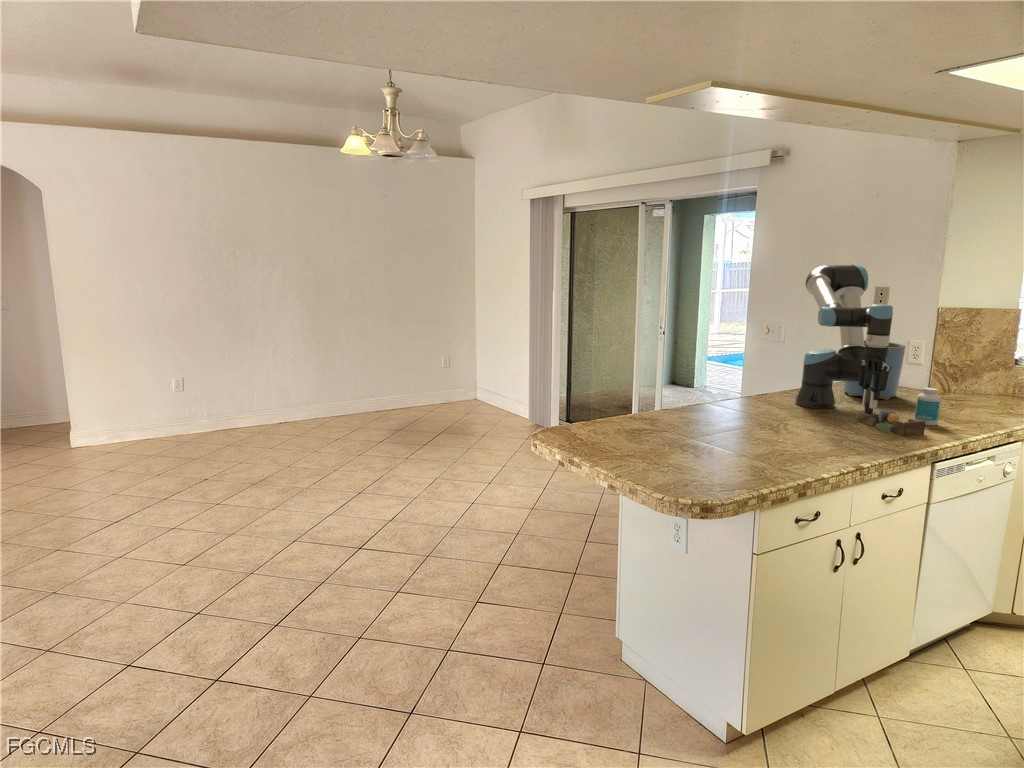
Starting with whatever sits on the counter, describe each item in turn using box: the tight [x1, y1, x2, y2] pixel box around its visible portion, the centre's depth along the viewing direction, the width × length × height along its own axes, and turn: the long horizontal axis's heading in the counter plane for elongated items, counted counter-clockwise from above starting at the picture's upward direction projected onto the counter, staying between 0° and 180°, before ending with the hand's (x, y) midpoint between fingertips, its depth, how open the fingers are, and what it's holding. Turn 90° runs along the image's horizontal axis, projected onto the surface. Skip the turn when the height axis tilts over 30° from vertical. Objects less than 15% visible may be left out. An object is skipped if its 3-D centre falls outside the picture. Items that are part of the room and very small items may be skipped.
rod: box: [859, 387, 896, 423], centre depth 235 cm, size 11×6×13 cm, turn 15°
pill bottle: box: [914, 387, 942, 426], centre depth 234 cm, size 8×7×14 cm
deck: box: [876, 420, 904, 433], centre depth 228 cm, size 6×10×2 cm, turn 105°
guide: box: [855, 413, 889, 426], centre depth 237 cm, size 8×7×2 cm
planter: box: [843, 339, 906, 401], centre depth 280 cm, size 23×23×24 cm
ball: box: [887, 413, 900, 423], centre depth 228 cm, size 4×4×4 cm
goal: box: [890, 418, 926, 437], centre depth 222 cm, size 6×8×5 cm
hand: (869, 406), depth 238 cm, fingers closed on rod, 3 cm apart
